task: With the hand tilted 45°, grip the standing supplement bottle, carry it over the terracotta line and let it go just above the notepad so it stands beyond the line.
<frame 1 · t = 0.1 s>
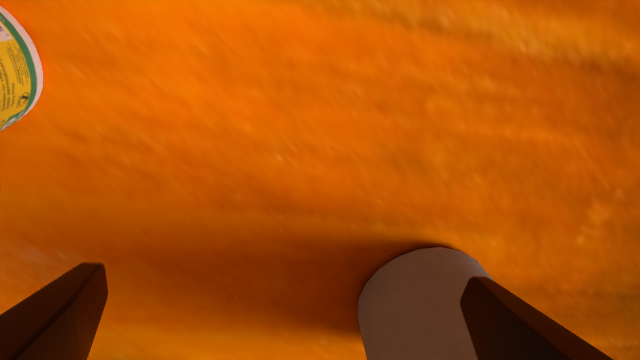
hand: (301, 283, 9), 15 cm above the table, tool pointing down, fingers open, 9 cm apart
canister: (418, 294, 31), on the table
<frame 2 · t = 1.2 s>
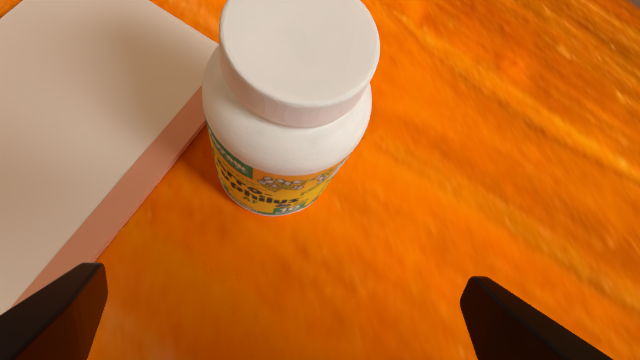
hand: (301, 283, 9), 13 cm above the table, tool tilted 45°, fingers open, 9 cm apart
notepad: (43, 135, 22), on the table
supplement bottle: (272, 165, 24), on the table
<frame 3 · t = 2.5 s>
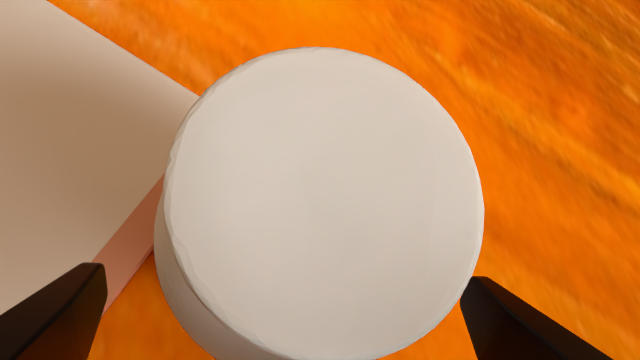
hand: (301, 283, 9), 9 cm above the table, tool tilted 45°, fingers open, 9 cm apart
supplement bottle: (273, 262, 18), on the table
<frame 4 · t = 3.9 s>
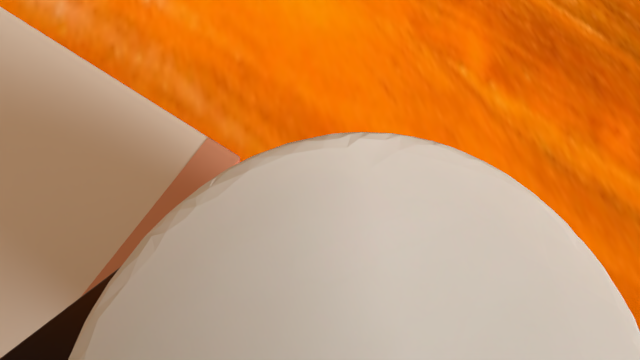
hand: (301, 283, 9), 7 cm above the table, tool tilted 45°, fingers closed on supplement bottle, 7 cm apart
supplement bottle: (274, 324, 15), on the table, touching gripper
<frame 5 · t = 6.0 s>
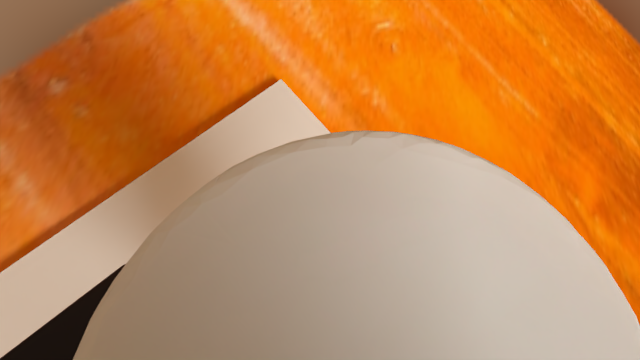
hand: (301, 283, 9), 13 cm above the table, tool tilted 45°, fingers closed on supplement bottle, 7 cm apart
notepad: (211, 266, 21), on the table
supplement bottle: (275, 323, 15), point 6 cm above the table, touching gripper
when the fingers open (8 cm above the table, at t = 8.1 s): supplement bottle drops 1 cm, resting on notepad.
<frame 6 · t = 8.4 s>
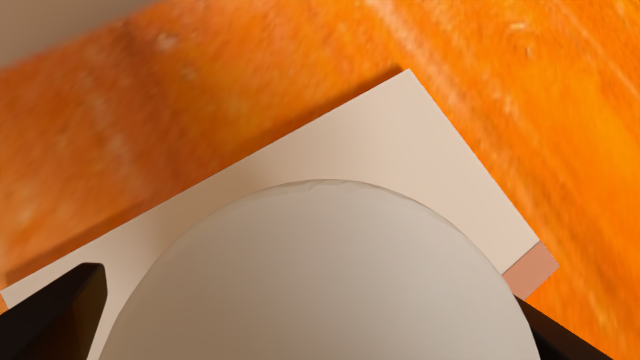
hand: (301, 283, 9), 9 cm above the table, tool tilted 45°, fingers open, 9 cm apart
notepad: (318, 273, 18), on the table
supplement bottle: (269, 326, 16), resting on notepad
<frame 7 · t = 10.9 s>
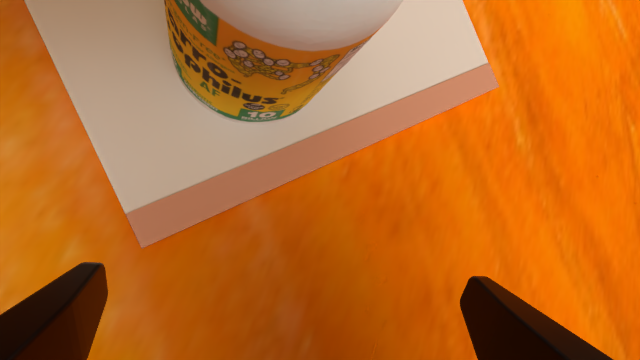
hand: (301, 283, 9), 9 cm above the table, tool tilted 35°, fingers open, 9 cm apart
notepad: (296, 33, 20), on the table
supplement bottle: (247, 58, 18), resting on notepad
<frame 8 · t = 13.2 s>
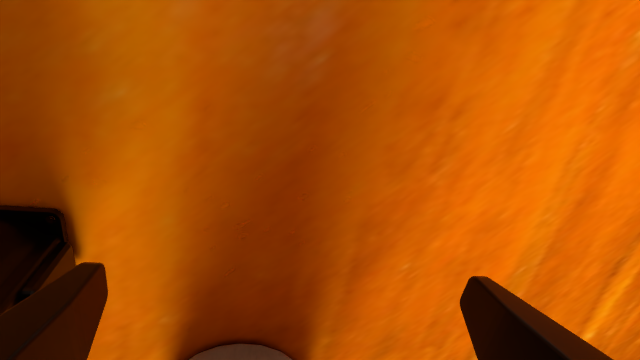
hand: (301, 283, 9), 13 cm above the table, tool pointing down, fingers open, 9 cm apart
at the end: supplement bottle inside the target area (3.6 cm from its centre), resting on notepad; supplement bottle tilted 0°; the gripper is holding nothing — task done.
